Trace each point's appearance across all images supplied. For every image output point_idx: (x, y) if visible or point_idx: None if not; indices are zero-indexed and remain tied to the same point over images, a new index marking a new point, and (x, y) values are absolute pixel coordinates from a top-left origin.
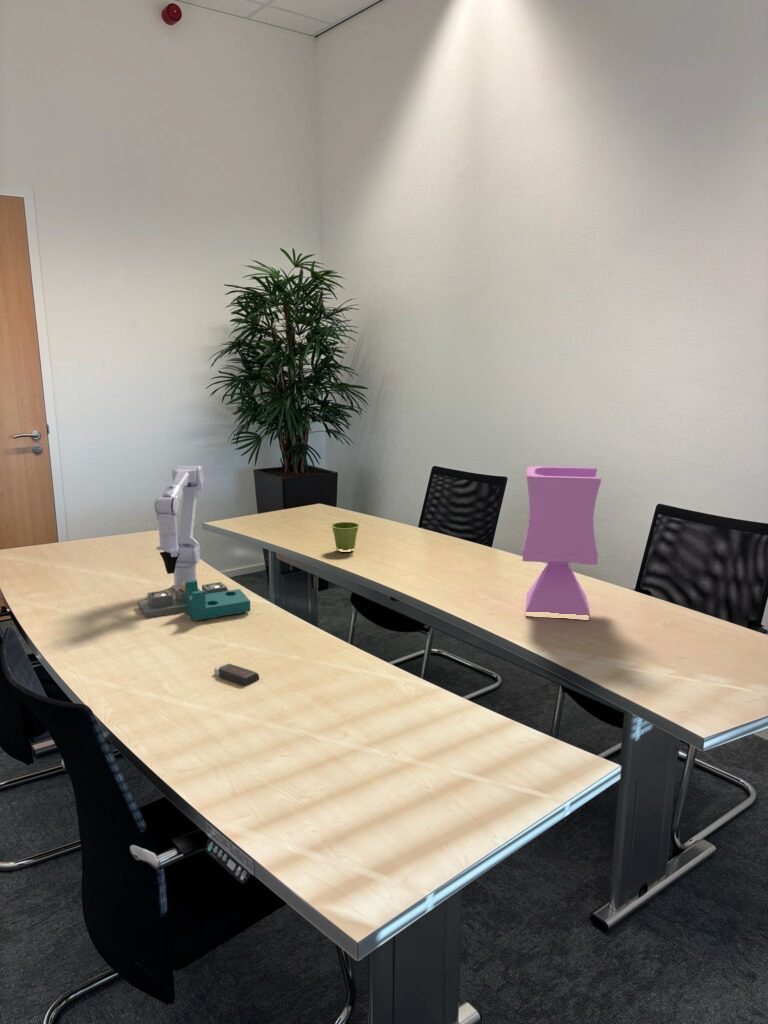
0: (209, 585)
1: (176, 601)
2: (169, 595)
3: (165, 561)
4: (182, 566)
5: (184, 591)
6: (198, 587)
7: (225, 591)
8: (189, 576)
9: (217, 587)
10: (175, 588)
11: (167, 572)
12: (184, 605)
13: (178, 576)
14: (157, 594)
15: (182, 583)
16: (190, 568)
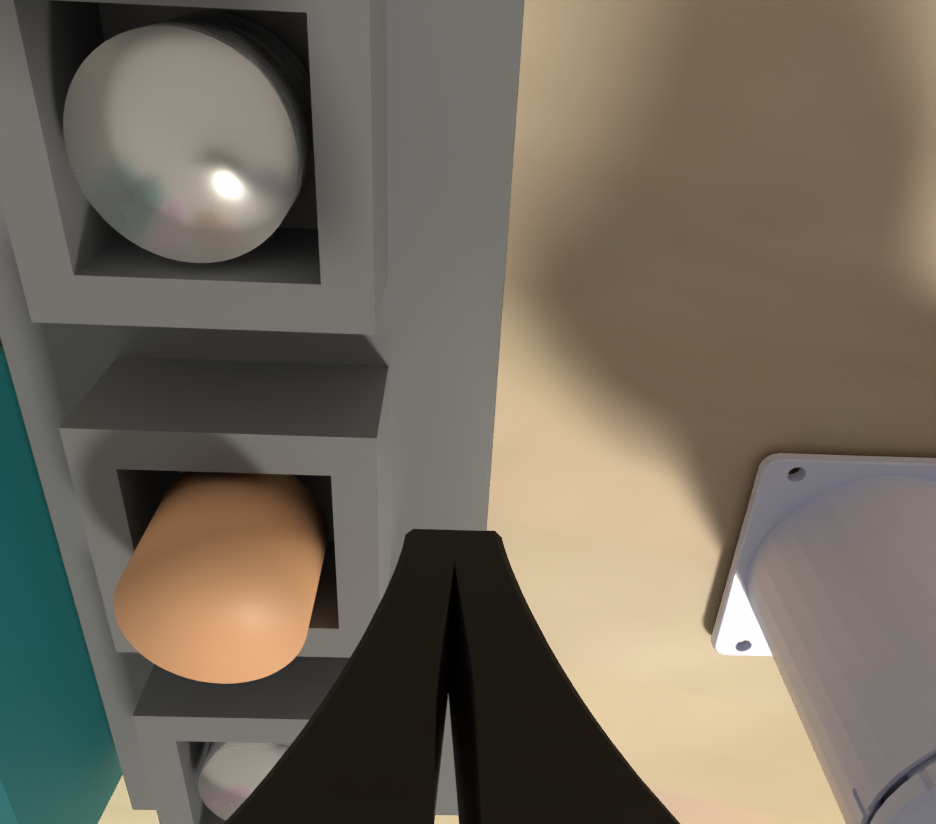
0: None
1: (242, 339)
2: (32, 276)
3: (258, 785)
4: (918, 788)
5: (160, 506)
6: (769, 651)
7: (6, 820)
8: (806, 704)
9: (203, 801)
10: (925, 473)
11: (415, 543)
12: (30, 378)
13: (908, 613)
14: (189, 108)
15: (277, 577)
16: (847, 818)
